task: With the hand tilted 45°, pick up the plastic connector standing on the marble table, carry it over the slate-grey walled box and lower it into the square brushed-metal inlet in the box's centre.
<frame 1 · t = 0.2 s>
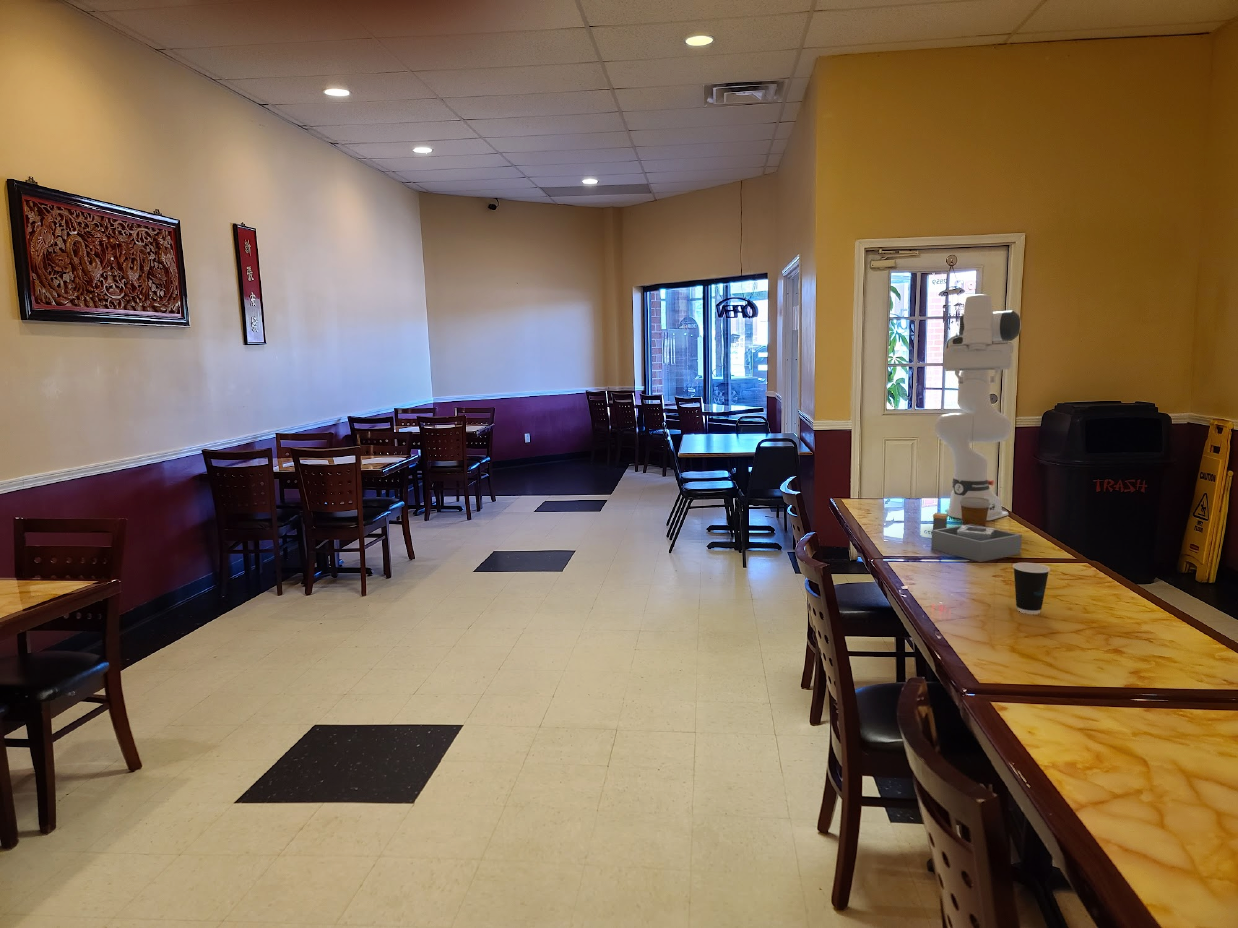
hand: (976, 382, 248), 52 cm above the table, tool tilted 20°, fingers open, 8 cm apart
connector: (939, 537, 258), on the table
walled box: (975, 551, 240), on the table
dixie cup: (1028, 611, 185), on the table
inlet socket: (975, 538, 239), in the walled box, point 4 cm above the table
disposable coffee cup: (973, 534, 262), on the table
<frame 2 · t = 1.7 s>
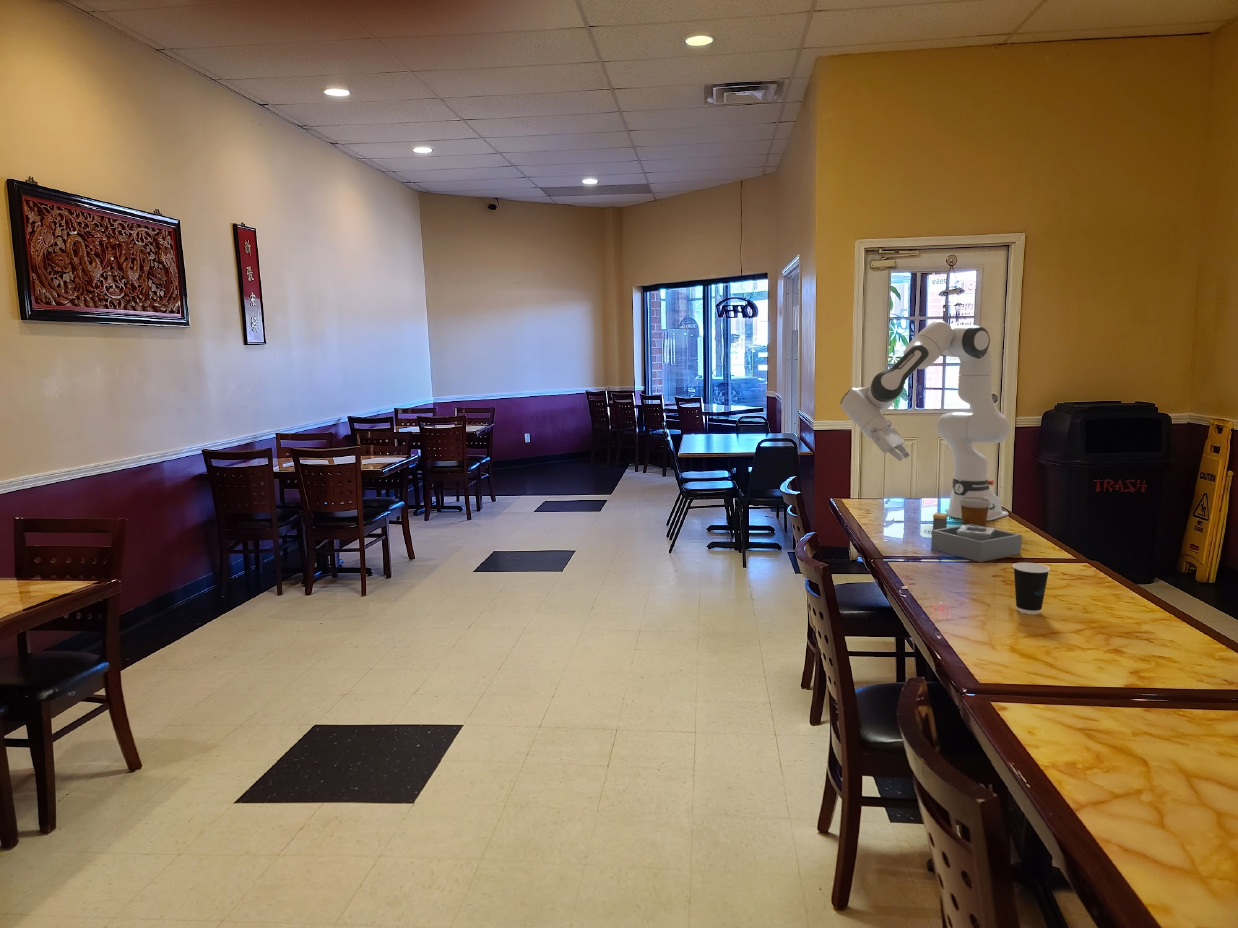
hand: (905, 458, 260), 26 cm above the table, tool tilted 45°, fingers open, 8 cm apart
nothing on the table moved.
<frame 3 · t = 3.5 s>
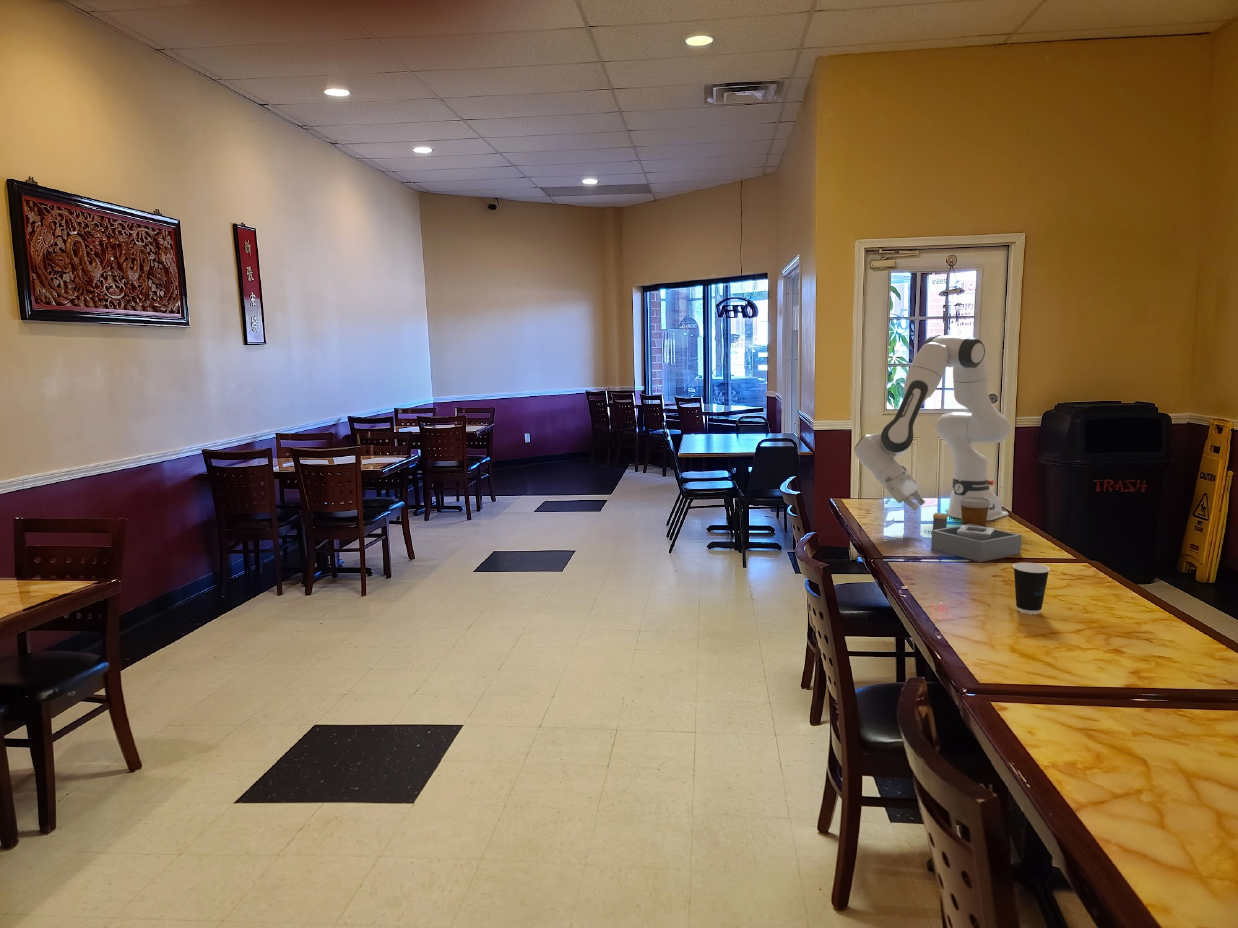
hand: (920, 506, 260), 10 cm above the table, tool tilted 45°, fingers open, 8 cm apart
nothing on the table moved.
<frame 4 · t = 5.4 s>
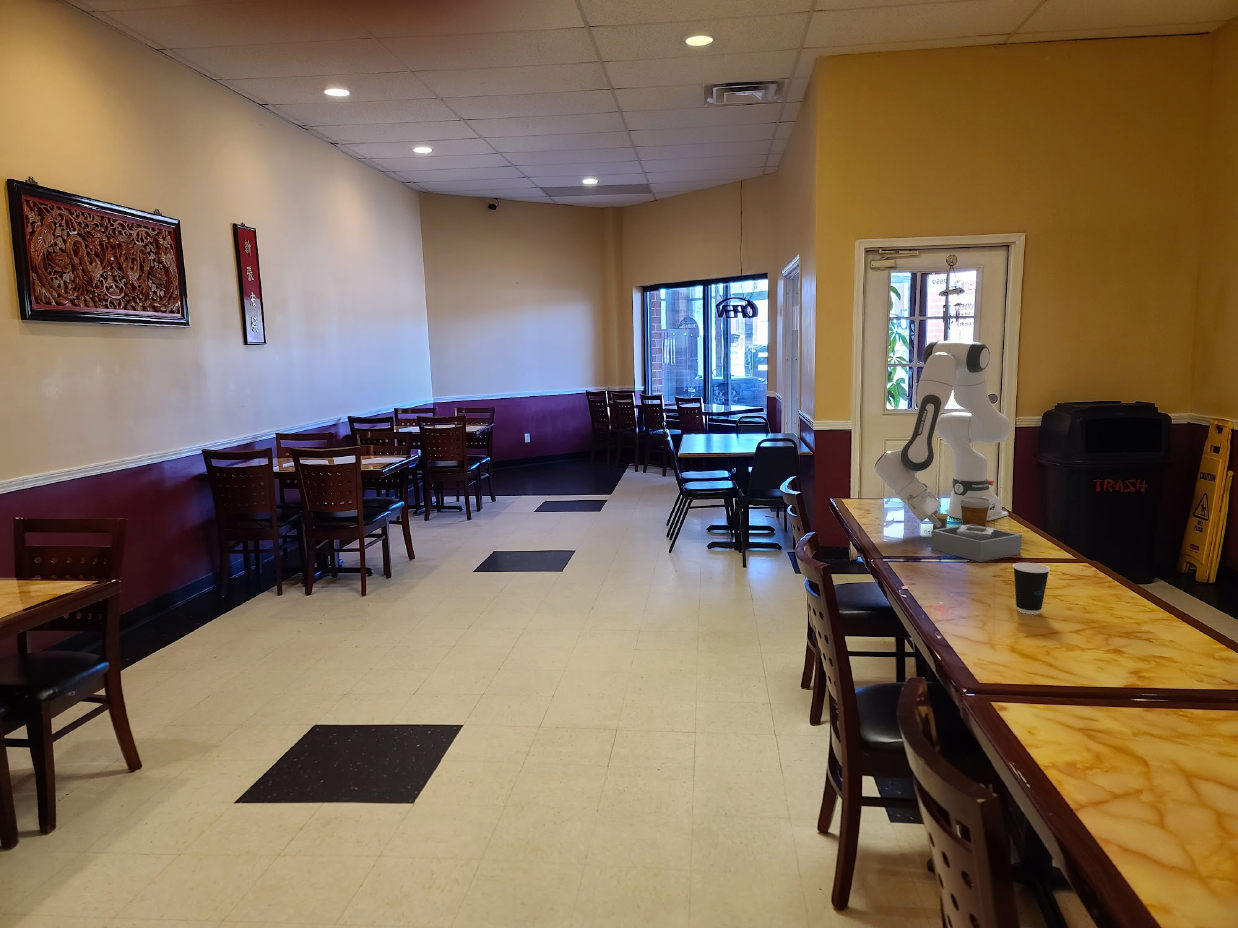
hand: (942, 524, 257), 5 cm above the table, tool tilted 45°, fingers closed on connector, 4 cm apart
connector: (939, 537, 258), on the table, touching gripper
everything else where it was.
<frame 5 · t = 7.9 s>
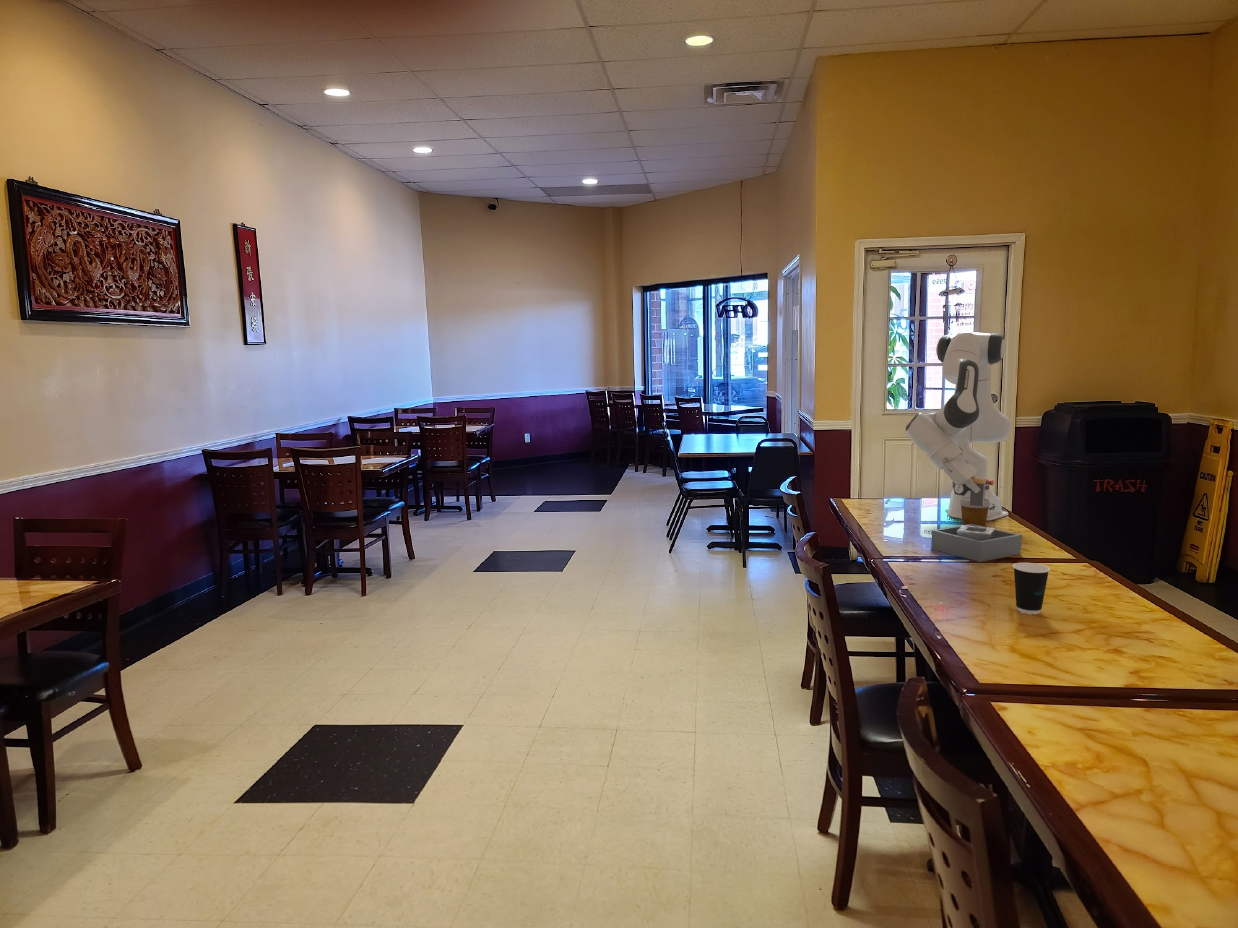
hand: (980, 490, 237), 19 cm above the table, tool tilted 45°, fingers closed on connector, 4 cm apart
connector: (977, 504, 238), point 15 cm above the table, touching gripper
everything else where it was.
when the fingers open (9 cm above the table, at t = 10.6 s): connector drops 1 cm, resting on inlet socket.
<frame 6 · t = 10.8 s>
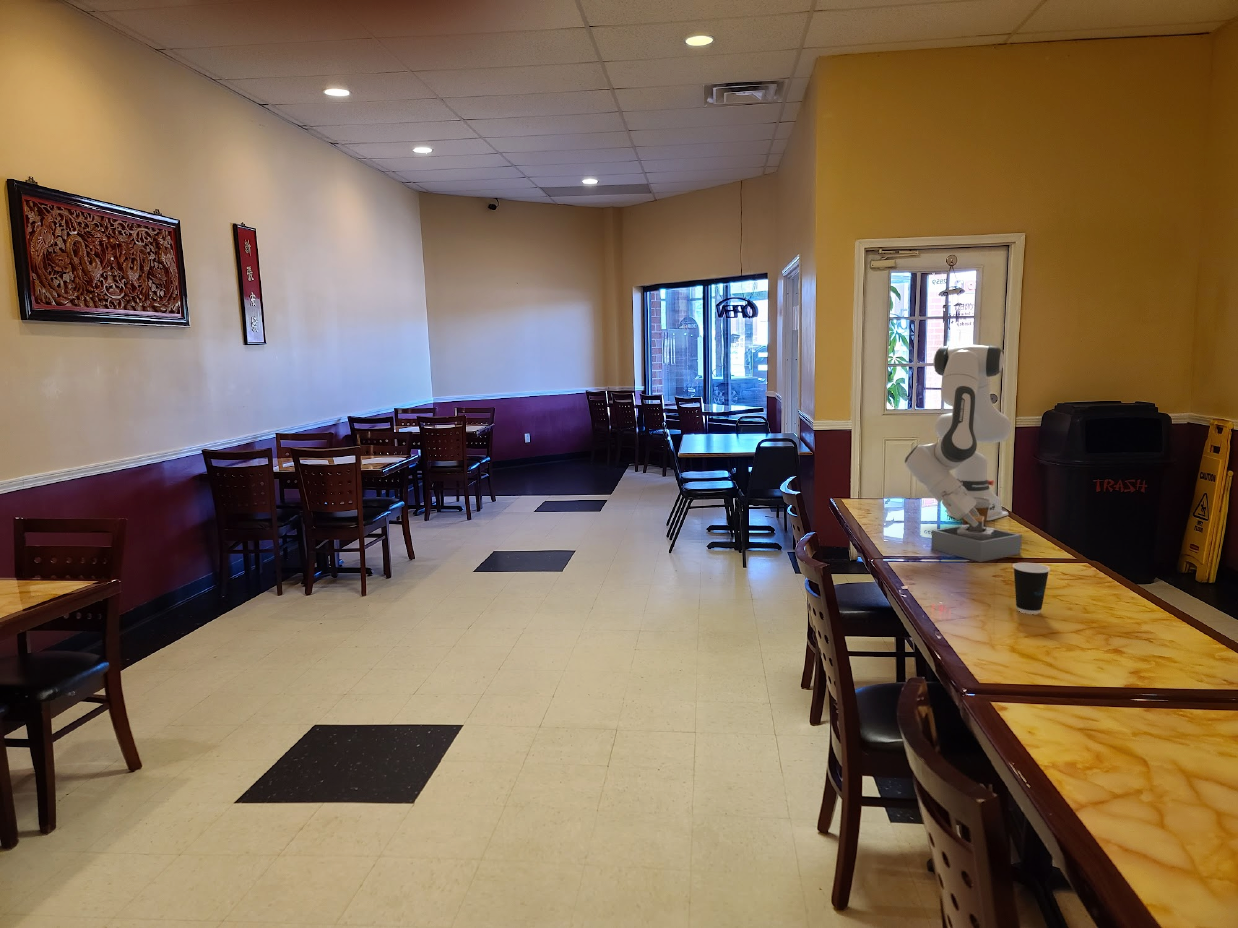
hand: (978, 523, 238), 9 cm above the table, tool tilted 45°, fingers open, 5 cm apart
connector: (975, 541, 239), point 3 cm above the table, touching inlet socket
everything else where it was.
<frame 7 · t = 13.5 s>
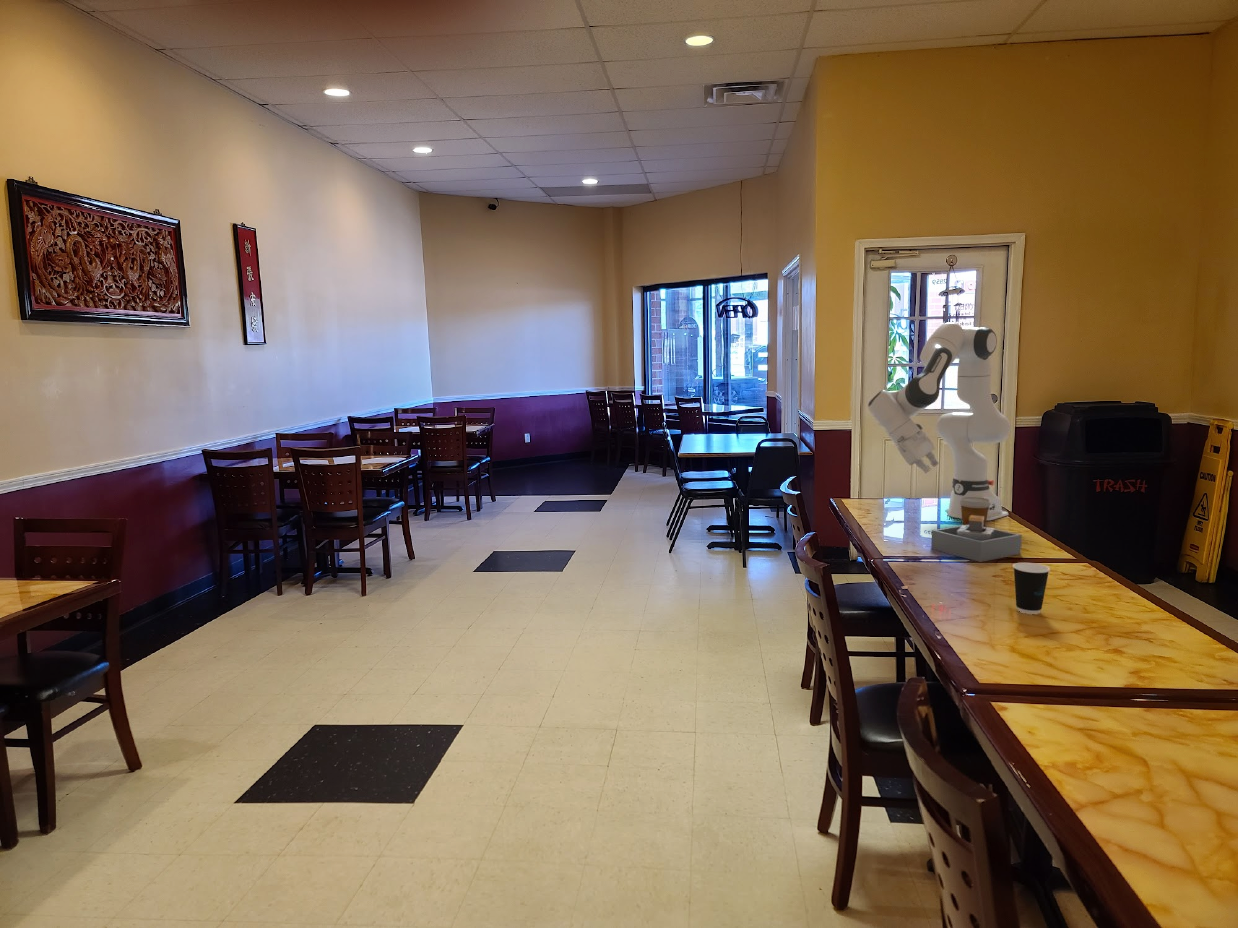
hand: (932, 468, 248), 24 cm above the table, tool tilted 40°, fingers open, 8 cm apart
nothing on the table moved.
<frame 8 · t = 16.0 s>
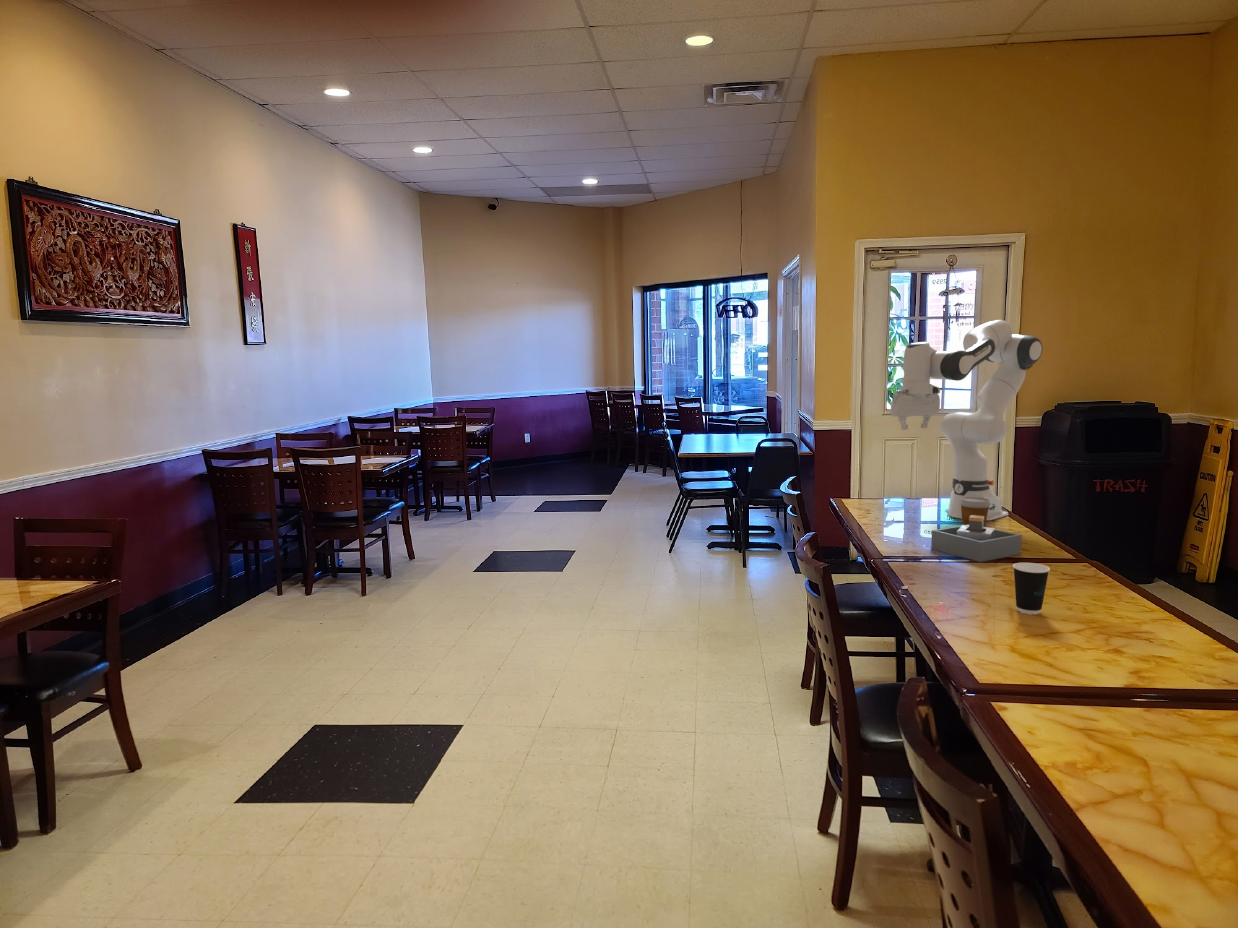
hand: (914, 429, 269), 35 cm above the table, tool pointing down, fingers open, 8 cm apart
nothing on the table moved.
at the end: connector 0.1 cm off-centre on the inlet socket, point 3.0 cm above the inlet socket's base; connector tilted 0°; the gripper is holding nothing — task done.
